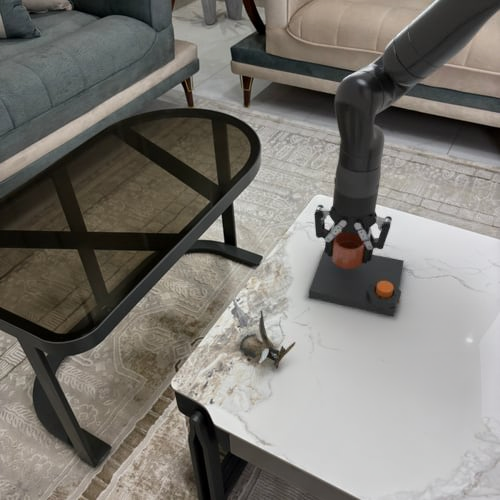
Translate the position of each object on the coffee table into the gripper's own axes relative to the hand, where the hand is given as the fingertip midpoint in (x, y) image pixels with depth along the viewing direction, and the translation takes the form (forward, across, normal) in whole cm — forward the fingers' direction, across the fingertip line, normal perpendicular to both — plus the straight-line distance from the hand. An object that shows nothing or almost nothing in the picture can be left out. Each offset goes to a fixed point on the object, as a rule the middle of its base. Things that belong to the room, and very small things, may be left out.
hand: (347, 257), depth 97 cm
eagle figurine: (+5, +10, +23) cm, 25 cm away
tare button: (+2, -8, +5) cm, 10 cm away
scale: (+5, -2, +1) cm, 6 cm away
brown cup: (+1, 0, 0) cm, 1 cm away
